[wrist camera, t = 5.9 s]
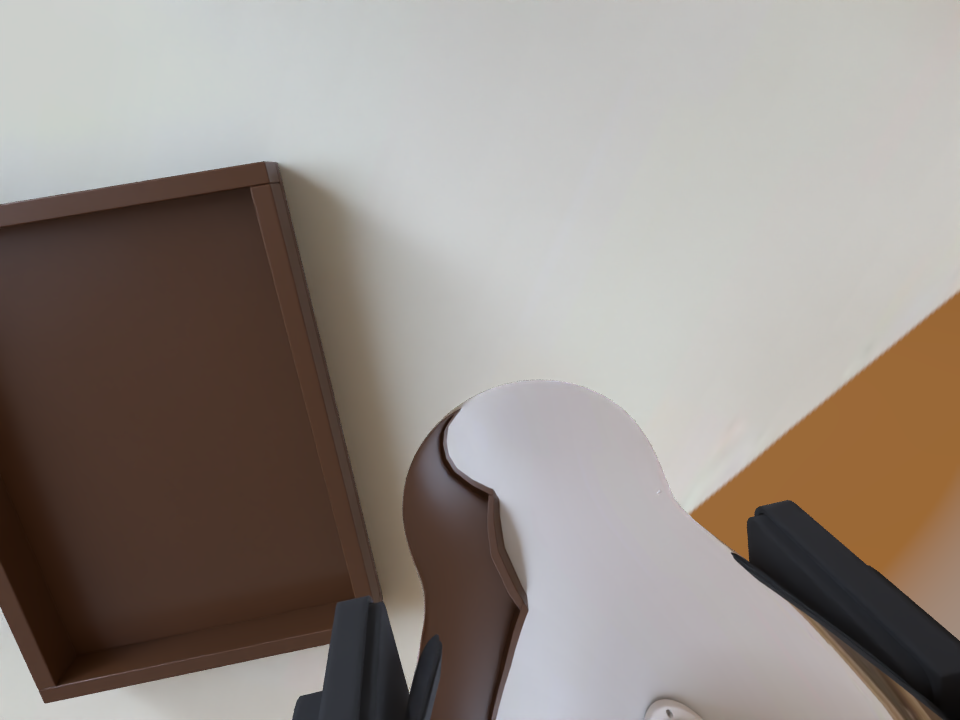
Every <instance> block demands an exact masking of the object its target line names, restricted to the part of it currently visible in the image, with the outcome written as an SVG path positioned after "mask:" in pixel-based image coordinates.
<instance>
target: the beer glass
mask: <svg viewBox="0 0 960 720" xmlns="http://www.w3.org/2000/svg"><path fill="white" fill-rule="evenodd" d="M402 512H403V524H404V531H405V536H406V540H407V543H408V547H409V550H410V553H411V556H412V559H413V562H414V565H415V568H416V571H417V574H418V577H419V579H420V582H421V586H422V590H423V597H424V621H423V629H422V635H421V640H420V646H419V651H418V657H417V663H416V668H415V672H414V677H413V681H412V686H411V690H410V695H409V699H408V704H407V708H406V713H405V717H404V720H953V719H952V718H950V717H949V716H948V715H947V714H946V713H944V712H943V711H942V710H941V709H939V708H938V707H937V706H936V705H935V704H933V703H932V702H931V701H930V700H929V699H927V698H926V697H925V696H924V695H922V694H921V693H920V692H919V691H918V690H916V689H915V688H914V687H913V686H912V685H910V684H909V683H908V682H907V681H905V680H904V679H903V678H902V677H901V676H899V675H898V674H897V673H896V672H895V671H893V670H892V669H891V668H890V667H888V666H887V665H886V664H885V663H884V662H882V661H881V660H880V659H879V658H878V657H876V656H875V655H874V654H872V653H871V652H870V651H868V650H867V649H866V648H864V647H863V646H862V645H860V644H859V643H858V642H856V641H855V640H854V639H852V638H851V637H850V636H848V635H847V634H846V633H844V632H843V631H842V630H840V629H839V628H838V627H836V626H835V625H834V624H832V623H831V622H830V621H828V620H827V619H826V618H824V617H823V616H822V615H820V614H819V613H818V612H816V611H815V610H814V609H812V608H811V607H810V606H808V605H807V604H806V603H804V602H803V601H802V600H800V599H799V598H798V597H796V596H795V595H794V594H792V593H791V592H790V591H788V590H787V589H786V588H784V587H783V586H782V585H780V584H779V583H778V582H776V581H775V580H773V579H772V578H771V577H769V576H768V575H767V574H765V573H764V572H762V571H761V570H760V569H758V568H757V567H756V566H754V565H753V564H751V563H750V562H749V561H747V560H746V559H745V558H743V557H741V556H740V555H739V554H738V553H736V552H735V551H733V550H732V549H731V548H729V547H728V546H727V545H725V544H724V543H723V542H721V541H720V540H719V539H717V538H716V537H715V536H714V535H713V534H711V533H710V532H709V531H707V530H706V529H705V528H704V527H702V526H701V525H700V524H698V523H697V522H696V521H695V520H694V519H693V518H692V517H691V516H690V515H689V514H688V513H687V512H686V511H685V510H684V509H683V508H682V507H681V506H680V504H679V503H678V502H677V500H676V499H675V497H674V495H673V493H672V491H671V489H670V486H669V484H668V481H667V479H666V476H665V474H664V471H663V469H662V467H661V464H660V462H659V460H658V457H657V455H656V453H655V451H654V449H653V447H652V445H651V443H650V441H649V440H648V438H647V437H646V435H645V434H644V432H643V431H642V429H641V428H640V427H639V425H638V424H637V423H636V421H635V420H634V419H633V418H632V417H631V416H630V415H629V414H628V413H627V412H626V411H625V410H624V409H623V408H621V407H620V406H619V405H618V404H616V403H615V402H614V401H612V400H611V399H609V398H608V397H606V396H604V395H602V394H600V393H598V392H596V391H594V390H591V389H589V388H586V387H584V386H580V385H577V384H573V383H569V382H564V381H557V380H541V379H538V380H523V381H516V382H511V383H506V384H503V385H499V386H496V387H493V388H490V389H488V390H485V391H483V392H481V393H479V394H477V395H475V396H473V397H471V398H469V399H467V400H466V401H464V402H463V403H461V404H460V405H458V406H457V407H455V408H454V409H453V410H451V411H450V412H449V413H448V414H447V415H446V416H444V417H443V418H442V419H441V420H440V421H439V422H438V423H437V424H436V425H435V427H434V428H433V429H432V430H431V431H430V432H429V434H428V435H427V436H426V438H425V439H424V441H423V442H422V444H421V445H420V447H419V449H418V451H417V453H416V454H415V456H414V459H413V461H412V463H411V465H410V468H409V471H408V474H407V477H406V481H405V486H404V491H403V501H402Z"/></svg>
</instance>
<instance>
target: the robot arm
mask: <svg viewBox="0 0 960 720" xmlns="http://www.w3.org/2000/svg"><path fill="white" fill-rule="evenodd" d="M747 533H748V549H749V562H750V563H751V564H753V565H754V566H756V567H757V568H758V569H760V570H761V571H762V572H764V573H765V574H767V575H768V576H769V577H771V578H772V579H773V580H775V581H776V582H778V583H779V584H780V585H782V586H783V587H784V588H786V589H787V590H788V591H790V592H791V593H792V594H794V595H795V596H796V597H798V598H799V599H800V600H802V601H803V602H804V603H806V604H807V605H808V606H810V607H811V608H812V609H814V610H815V611H816V612H818V613H819V614H820V615H822V616H823V617H824V618H826V619H827V620H828V621H830V622H831V623H832V624H834V625H835V626H836V627H838V628H839V629H840V630H842V631H843V632H844V633H846V634H847V635H848V636H850V637H851V638H852V639H854V640H855V641H856V642H858V643H859V644H860V645H862V646H863V647H864V648H866V649H867V650H868V651H870V652H871V653H872V654H874V655H875V656H876V657H878V658H879V659H880V660H881V661H882V662H884V663H885V664H886V665H887V666H888V667H890V668H891V669H892V670H893V671H895V672H896V673H897V674H898V675H899V676H901V677H902V678H903V679H904V680H905V681H907V682H908V683H909V684H910V685H912V686H913V687H914V688H915V689H916V690H918V691H919V692H920V693H921V694H922V695H924V696H925V697H926V698H927V699H929V700H930V701H931V702H932V703H933V704H935V705H936V706H937V707H938V708H939V709H941V710H942V711H943V712H944V713H946V714H947V715H948V716H949V717H950V718H952V719H953V720H960V641H959V640H958V639H957V638H956V637H954V636H953V635H952V634H951V633H950V632H948V631H947V630H946V629H945V628H944V627H943V626H942V625H940V624H939V623H938V622H937V621H936V620H934V619H933V618H932V617H931V616H930V615H929V614H927V613H926V612H925V611H924V610H923V609H922V608H920V607H919V606H918V605H917V604H915V602H913V601H912V600H911V599H910V598H909V597H908V596H906V595H905V594H904V593H903V592H902V591H900V590H899V589H898V588H897V587H896V586H895V585H893V584H892V583H891V582H890V581H889V580H888V579H886V578H885V577H884V576H883V575H882V574H880V573H879V572H878V571H877V570H875V569H874V568H872V567H871V566H868V565H866V564H865V563H864V562H863V561H862V560H860V559H859V558H858V557H857V556H856V555H855V554H853V553H852V552H851V551H850V550H849V549H848V548H846V547H845V546H844V545H843V544H842V543H841V542H839V541H838V540H837V539H836V538H835V537H833V535H831V534H830V533H829V532H828V531H826V529H824V528H823V527H822V526H821V525H820V524H819V523H817V522H816V521H815V520H814V519H813V518H812V517H810V516H809V515H808V514H807V513H806V512H805V511H803V510H802V509H801V508H800V507H799V506H798V505H797V504H795V503H794V502H792V501H789V500H786V501H782V502H777V503H773V504H769V505H764V506H760V507H758V508H757V509H756V510H755V516H754V517H750V518H749V519H748V521H747ZM408 699H409V691H408V687H407V684H406V680H405V676H404V673H403V669H402V665H401V662H400V658H399V654H398V651H397V647H396V643H395V640H394V636H393V632H392V629H391V625H390V621H389V618H388V614H387V610H386V607H385V604H384V602H383V601H382V602H378V603H373V601H372V598H371V597H370V596H364V597H360V598H355V599H351V600H347V601H342V602H338V603H337V605H336V608H335V615H334V621H333V627H332V634H331V640H330V647H329V653H328V659H327V666H326V672H325V679H324V685H323V691H320V692H316V693H312V694H307V695H303V696H300V697H299V699H298V700H297V702H296V706H295V709H294V714H293V719H292V720H404V717H405V713H406V708H407V704H408Z"/></svg>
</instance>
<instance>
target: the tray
mask: <svg viewBox="0 0 960 720" xmlns="http://www.w3.org/2000/svg"><path fill="white" fill-rule="evenodd" d="M364 596H370V597H371V598H372V601H373V603H378V602H382V601H383V596H382V592H381V588H380V584H379V580H378V576H377V571H376V567H375V563H374V559H373V555H372V551H371V547H370V543H369V538H368V534H367V530H366V526H365V522H364V518H363V514H362V509H361V505H360V501H359V497H358V493H357V489H356V485H355V481H354V476H353V472H352V468H351V464H350V460H349V456H348V452H347V447H346V443H345V439H344V435H343V431H342V427H341V423H340V418H339V414H338V410H337V406H336V402H335V398H334V394H333V390H332V385H331V381H330V377H329V373H328V369H327V365H326V361H325V356H324V352H323V348H322V344H321V340H320V336H319V332H318V327H317V323H316V319H315V315H314V311H313V307H312V303H311V299H310V294H309V290H308V286H307V282H306V278H305V274H304V270H303V265H302V261H301V257H300V253H299V249H298V245H297V241H296V236H295V232H294V228H293V224H292V220H291V216H290V212H289V208H288V203H287V199H286V195H285V191H284V187H283V183H282V179H281V174H280V170H279V166H278V163H276V162H264V161H263V162H257V163H251V164H245V165H239V166H233V167H227V168H220V169H214V170H208V171H202V172H196V173H190V174H184V175H178V176H171V177H165V178H159V179H153V180H147V181H141V182H135V183H128V184H122V185H116V186H110V187H104V188H98V189H92V190H86V191H79V192H73V193H67V194H61V195H55V196H49V197H43V198H36V199H30V200H24V201H18V202H12V203H6V204H0V607H1V609H2V611H3V614H4V616H5V618H6V620H7V622H8V624H9V627H10V629H11V631H12V633H13V635H14V638H15V640H16V642H17V644H18V646H19V649H20V651H21V653H22V655H23V657H24V660H25V662H26V664H27V666H28V668H29V671H30V673H31V675H32V677H33V679H34V682H35V684H36V686H37V688H38V690H39V692H40V695H41V697H42V699H43V701H44V703H50V702H55V701H59V700H64V699H69V698H74V697H79V696H83V695H88V694H93V693H98V692H102V691H107V690H112V689H117V688H121V687H126V686H131V685H136V684H140V683H145V682H150V681H155V680H160V679H164V678H169V677H174V676H179V675H183V674H188V673H193V672H198V671H202V670H207V669H212V668H217V667H221V666H226V665H231V664H236V663H240V662H245V661H250V660H255V659H260V658H264V657H269V656H274V655H279V654H283V653H288V652H293V651H298V650H302V649H307V648H312V647H317V646H321V645H326V644H330V640H331V634H332V627H333V621H334V615H335V608H336V605H337V603H338V602H342V601H347V600H351V599H355V598H360V597H364Z"/></svg>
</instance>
